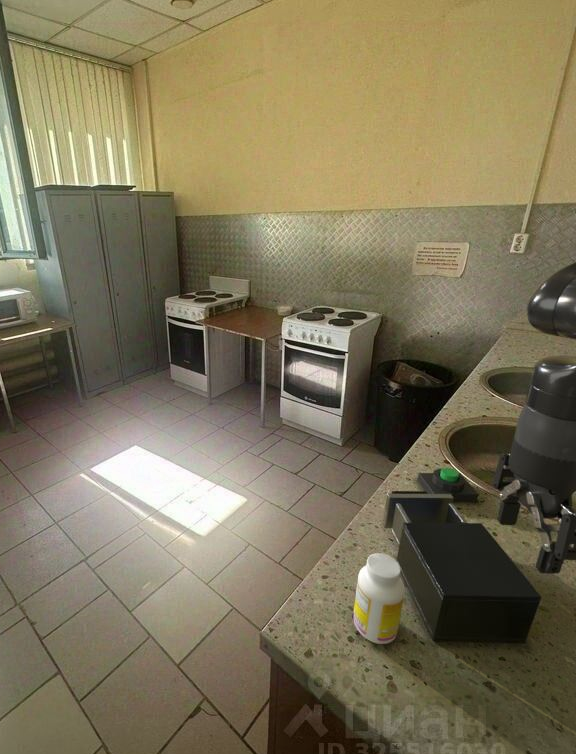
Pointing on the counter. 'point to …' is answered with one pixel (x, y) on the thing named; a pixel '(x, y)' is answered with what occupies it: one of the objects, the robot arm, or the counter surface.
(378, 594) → the supplement bottle
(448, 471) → the button
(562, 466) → the robot arm
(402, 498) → the rack drawer
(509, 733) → the counter surface
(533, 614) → the black box
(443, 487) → the control block
